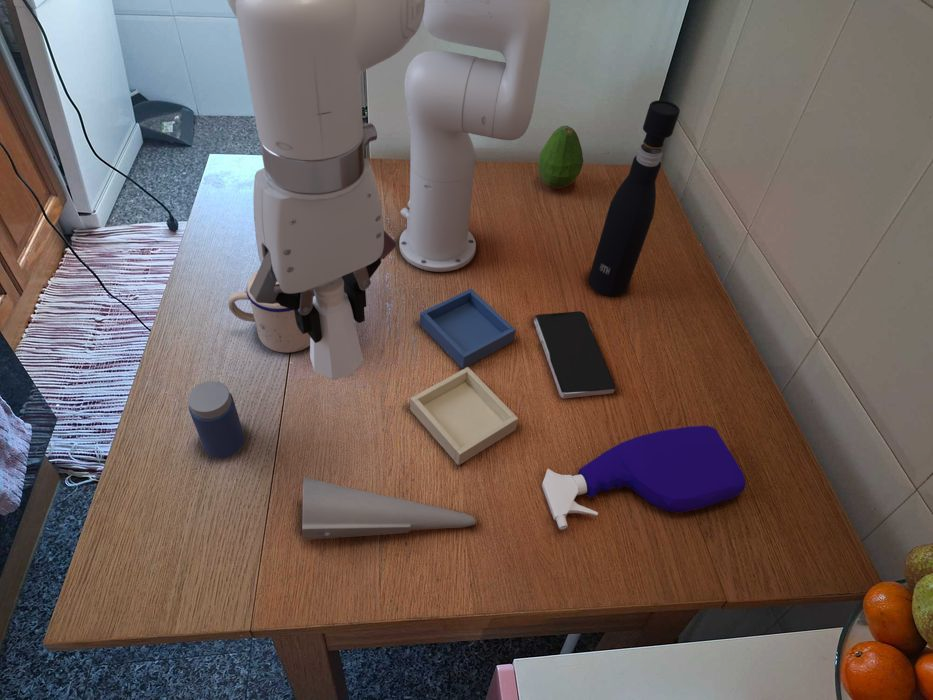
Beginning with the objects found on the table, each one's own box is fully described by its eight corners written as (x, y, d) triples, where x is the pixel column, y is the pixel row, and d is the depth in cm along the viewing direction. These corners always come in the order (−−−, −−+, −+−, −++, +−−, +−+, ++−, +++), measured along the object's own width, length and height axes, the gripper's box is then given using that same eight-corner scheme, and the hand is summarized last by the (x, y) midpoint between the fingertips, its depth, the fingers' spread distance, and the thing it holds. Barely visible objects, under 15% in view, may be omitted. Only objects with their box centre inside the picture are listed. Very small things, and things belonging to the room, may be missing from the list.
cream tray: (409, 409, 84) (410, 397, 82) (466, 378, 88) (467, 366, 87) (458, 465, 79) (459, 454, 77) (515, 429, 83) (518, 418, 81)
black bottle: (626, 272, 106) (686, 98, 84) (629, 299, 102) (693, 122, 80) (587, 268, 106) (637, 92, 84) (588, 294, 102) (642, 116, 80)
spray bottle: (710, 416, 84) (532, 452, 78) (757, 489, 77) (565, 534, 71) (703, 429, 86) (529, 465, 80) (747, 501, 79) (560, 546, 73)
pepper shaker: (197, 437, 79) (178, 391, 72) (234, 419, 81) (220, 373, 74) (213, 465, 76) (196, 420, 70) (251, 445, 79) (238, 400, 72)
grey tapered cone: (474, 464, 74) (303, 468, 70) (481, 518, 71) (302, 525, 66) (464, 484, 79) (303, 489, 75) (471, 536, 75) (302, 544, 71)
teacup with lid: (324, 309, 95) (317, 246, 87) (320, 355, 89) (311, 293, 80) (241, 308, 94) (225, 245, 85) (230, 355, 88) (212, 292, 79)
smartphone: (561, 394, 87) (533, 314, 96) (559, 399, 87) (531, 320, 97) (617, 388, 88) (584, 310, 98) (615, 393, 89) (582, 316, 99)
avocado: (533, 193, 120) (543, 134, 111) (536, 171, 125) (547, 112, 116) (575, 200, 119) (590, 141, 110) (577, 177, 125) (591, 119, 116)
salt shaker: (359, 382, 65) (353, 304, 57) (305, 378, 65) (291, 299, 56) (366, 342, 68) (362, 263, 60) (315, 338, 68) (303, 259, 60)
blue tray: (419, 324, 95) (419, 312, 93) (469, 300, 99) (471, 288, 97) (462, 369, 90) (464, 357, 88) (513, 341, 94) (516, 329, 92)
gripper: (382, 106, 54) (385, 270, 68) (185, 162, 47) (233, 334, 60) (433, 148, 51) (426, 313, 64) (228, 216, 43) (269, 386, 57)
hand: (332, 321), depth 62 cm, fingers closed on salt shaker, 4 cm apart
